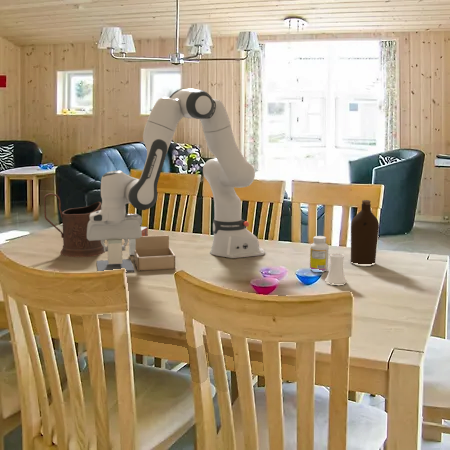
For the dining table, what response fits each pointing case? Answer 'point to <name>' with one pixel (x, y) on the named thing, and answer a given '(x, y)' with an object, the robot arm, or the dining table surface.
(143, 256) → the carton
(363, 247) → the olive oil
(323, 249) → the supplement bottle
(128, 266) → the rubber mat
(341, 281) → the salt shaker
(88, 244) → the brown pitcher
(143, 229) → the small box
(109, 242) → the cream box
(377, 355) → the dining table surface
